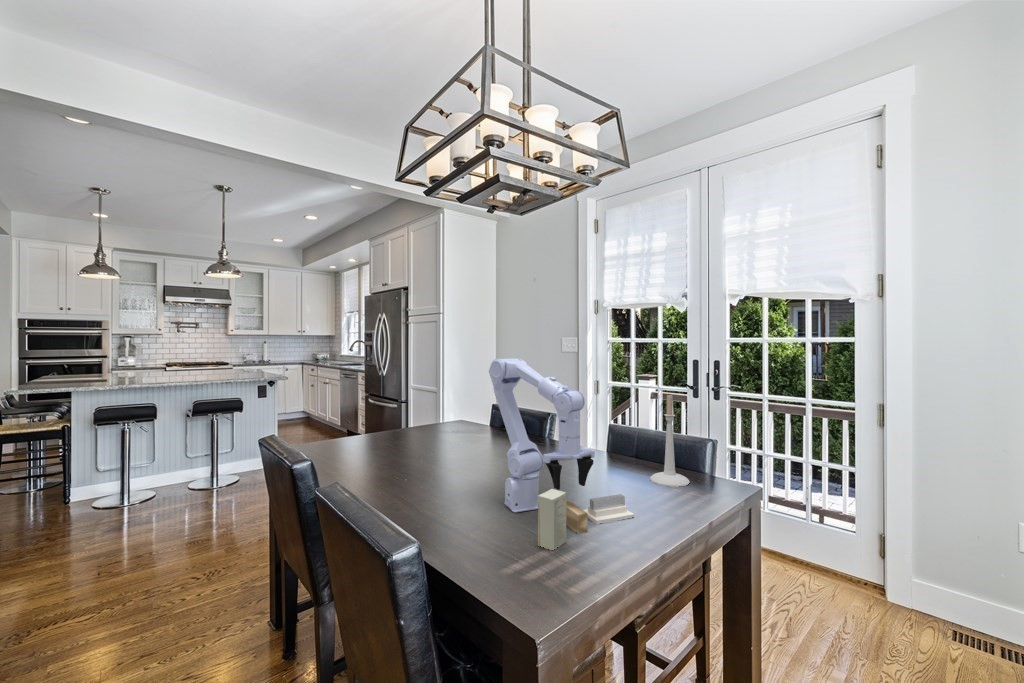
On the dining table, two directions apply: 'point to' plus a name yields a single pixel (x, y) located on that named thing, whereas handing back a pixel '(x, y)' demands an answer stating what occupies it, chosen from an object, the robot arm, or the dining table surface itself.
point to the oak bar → (576, 517)
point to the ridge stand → (608, 509)
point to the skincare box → (551, 519)
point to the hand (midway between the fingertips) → (569, 486)
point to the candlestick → (669, 455)
